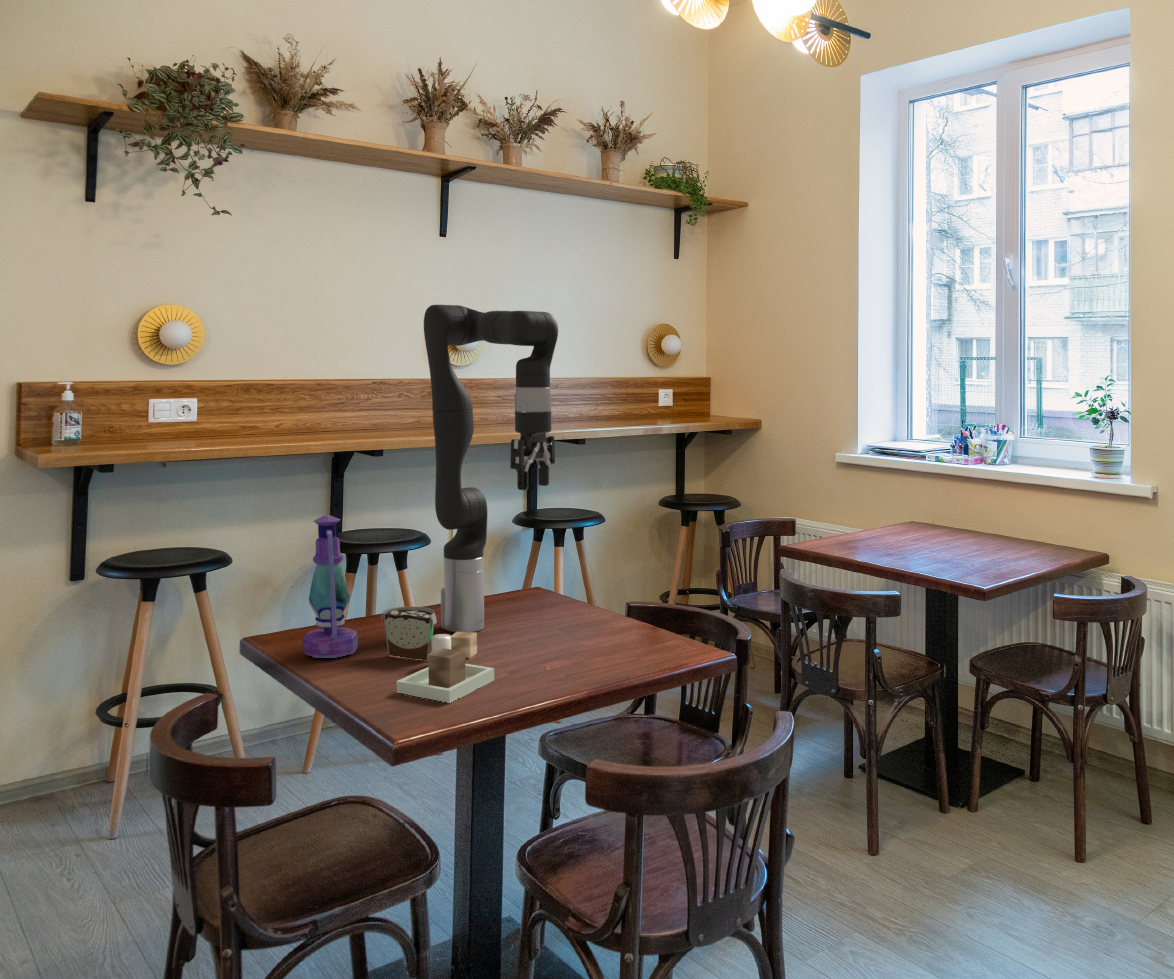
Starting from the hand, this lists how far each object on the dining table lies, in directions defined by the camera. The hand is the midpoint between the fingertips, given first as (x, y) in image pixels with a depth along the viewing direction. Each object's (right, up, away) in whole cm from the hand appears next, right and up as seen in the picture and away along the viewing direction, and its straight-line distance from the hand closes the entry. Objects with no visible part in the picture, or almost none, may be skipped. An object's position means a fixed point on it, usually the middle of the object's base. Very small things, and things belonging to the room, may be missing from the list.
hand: (533, 487), depth 197 cm
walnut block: (-16, -38, -16) cm, 44 cm away
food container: (-25, -36, +5) cm, 44 cm away
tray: (-16, -38, -16) cm, 44 cm away
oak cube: (-15, -36, +5) cm, 39 cm away
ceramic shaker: (-19, -37, -2) cm, 41 cm away
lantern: (-44, -36, +6) cm, 57 cm away
